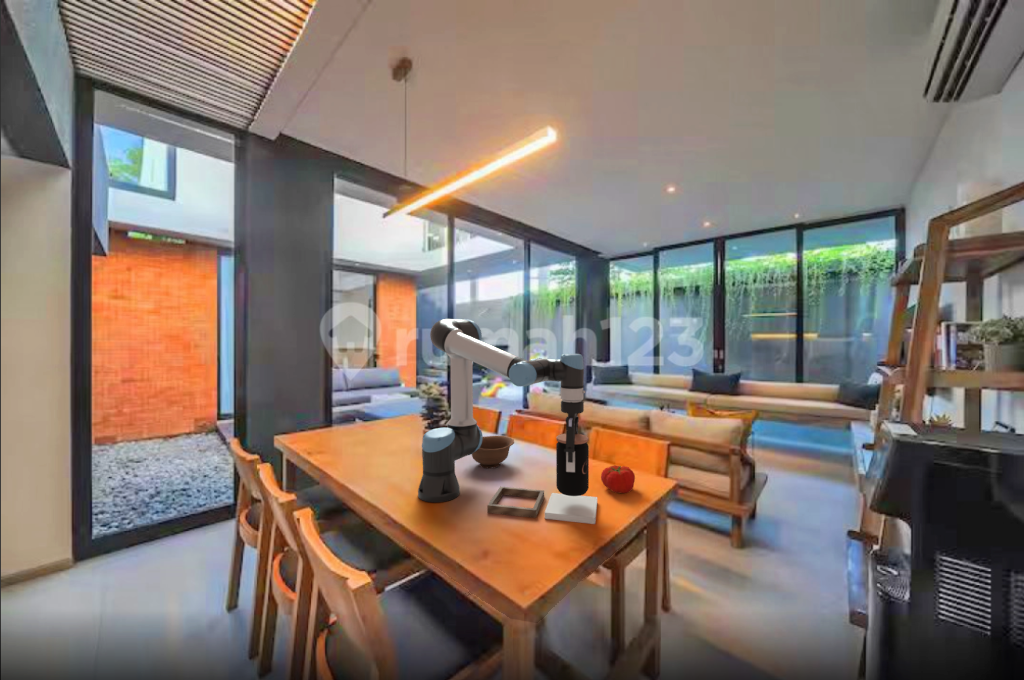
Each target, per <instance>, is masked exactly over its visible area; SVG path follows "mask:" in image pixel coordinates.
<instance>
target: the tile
mask: <svg viewBox="0 0 1024 680" xmlns="http://www.w3.org/2000/svg"><path fill="white" fill-rule="evenodd" d="M597 508H598V497H597V496H590V495H589V496H588V495H581V496H568V495H564V494H562V493H560V492H559V493H556V492H551V494H550V497H549V500H548V501H547V506H546V507H545V510H544V519H545V520H553V521H555V520H557V521H561V522H562V521H563V522H573V523H582V524H589V525H590V524H591V525H596V522H597V521H596V520H597V512H598V511H597V510H598V509H597Z"/></svg>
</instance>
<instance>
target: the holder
mask: <svg viewBox="0 0 1024 680" xmlns="http://www.w3.org/2000/svg"><path fill="white" fill-rule="evenodd" d="M503 495H504V496H512V497H524V498H534V499H536V500H535V503H534V505H533V507H532V508H531V507H525V506H513V505H505V504H504V505H503V504H498V503H499V501H500V500H501V498H502V497H503ZM544 499H545V490H543V489H542V490H541V489H532V488H520V487H519V488H518V487H511V486H501V485H500V487H498V490H496V492H495V493H494V495H493V496H492V498H491V499H490V501H489V502H488V504H487V505H486V506H487V508H486V509H487V511H486V512H487V513H488V514H495V515H496V514H498V515H507V516H514V517H515V516H516V517H523V518H524V517H525V518H534V519H536V518H537V517H538V513H539V511H540V508H541V506H542V504H543V502H544Z"/></svg>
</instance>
